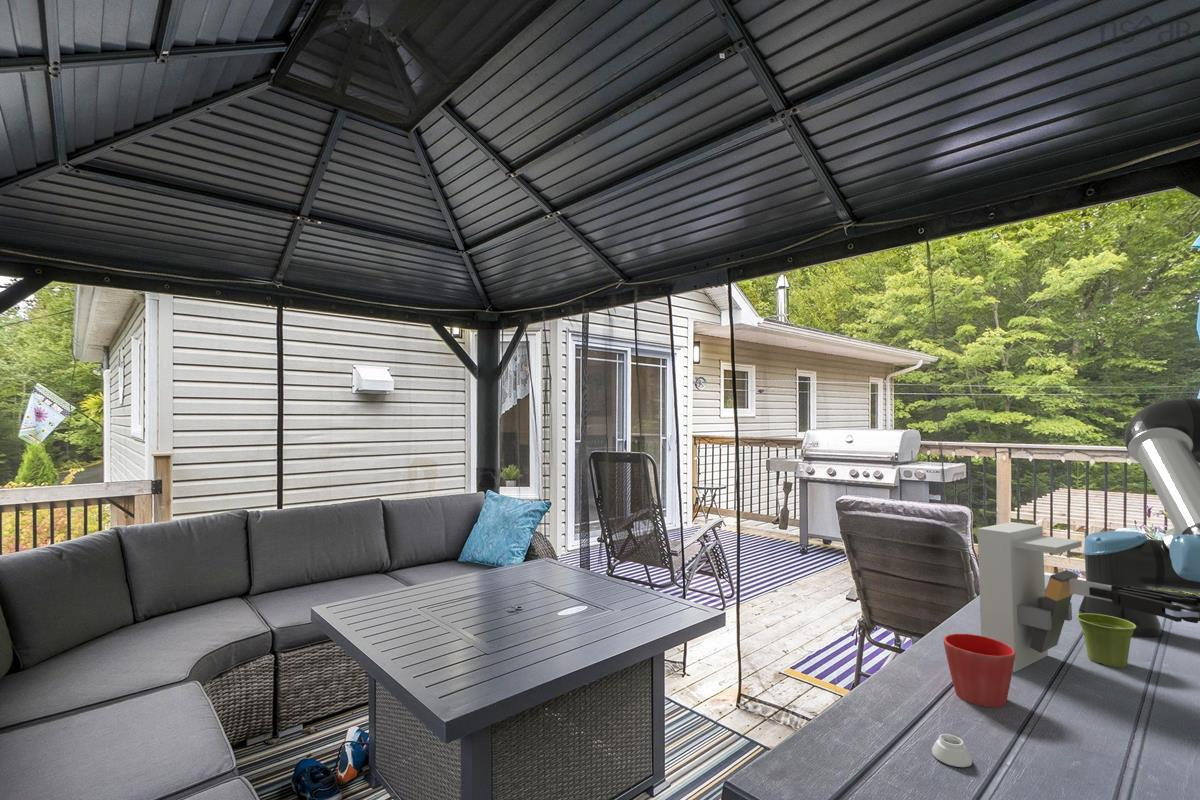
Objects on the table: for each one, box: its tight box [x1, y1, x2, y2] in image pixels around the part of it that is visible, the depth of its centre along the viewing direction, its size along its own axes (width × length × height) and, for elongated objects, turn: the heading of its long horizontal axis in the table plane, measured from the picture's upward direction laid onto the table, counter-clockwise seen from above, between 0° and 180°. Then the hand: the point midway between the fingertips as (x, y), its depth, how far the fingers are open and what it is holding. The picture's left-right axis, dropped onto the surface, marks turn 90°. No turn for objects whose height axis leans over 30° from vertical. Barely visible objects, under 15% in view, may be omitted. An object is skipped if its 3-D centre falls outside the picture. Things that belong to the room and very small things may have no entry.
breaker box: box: [977, 521, 1083, 673], centre depth 117 cm, size 16×13×28 cm
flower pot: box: [942, 633, 1015, 708], centre depth 102 cm, size 11×11×10 cm
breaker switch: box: [1030, 569, 1079, 653], centre depth 114 cm, size 9×2×16 cm, turn 122°
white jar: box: [931, 733, 973, 768], centre depth 83 cm, size 5×3×5 cm
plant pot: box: [1076, 613, 1136, 668], centre depth 118 cm, size 9×9×9 cm
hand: (1071, 585), depth 111 cm, fingers closed
